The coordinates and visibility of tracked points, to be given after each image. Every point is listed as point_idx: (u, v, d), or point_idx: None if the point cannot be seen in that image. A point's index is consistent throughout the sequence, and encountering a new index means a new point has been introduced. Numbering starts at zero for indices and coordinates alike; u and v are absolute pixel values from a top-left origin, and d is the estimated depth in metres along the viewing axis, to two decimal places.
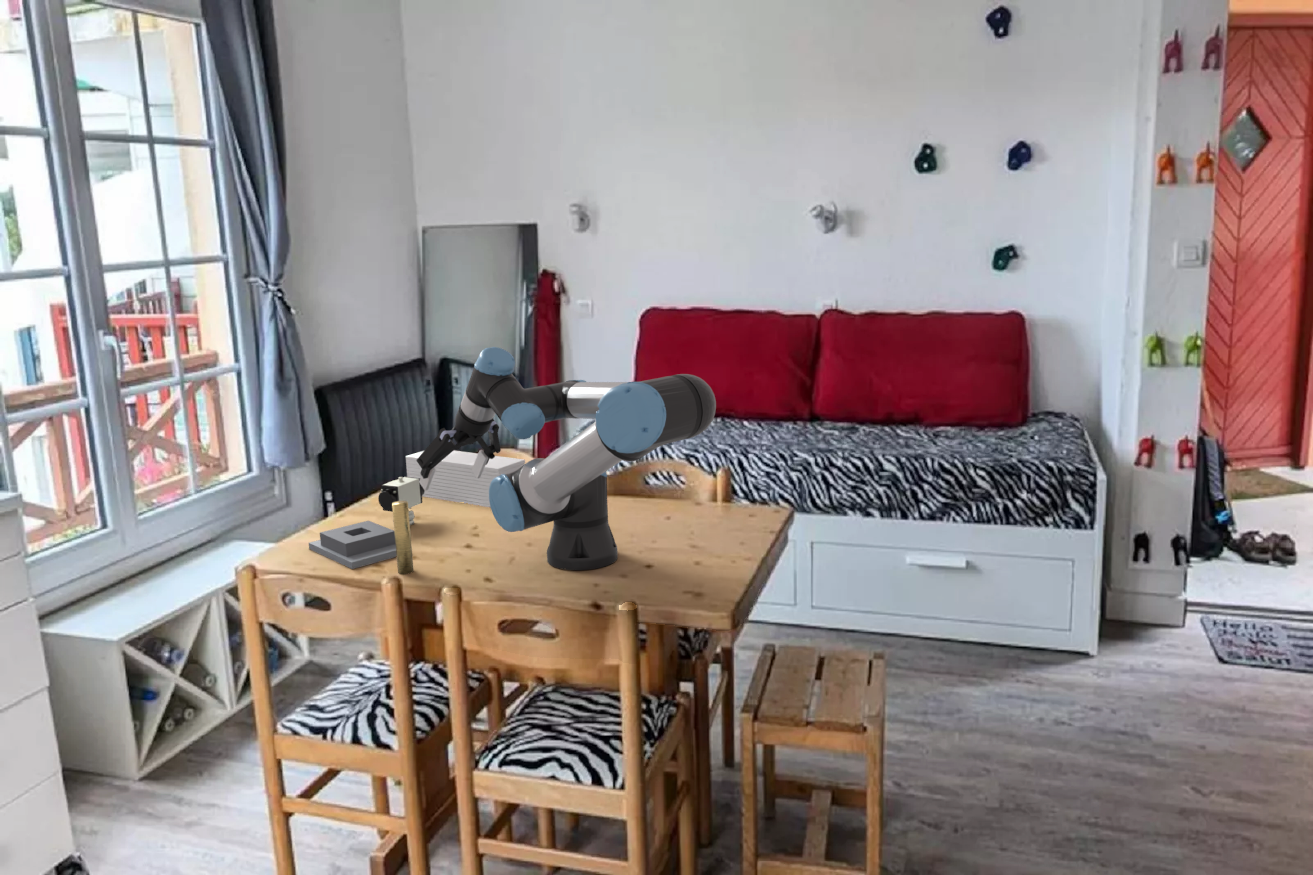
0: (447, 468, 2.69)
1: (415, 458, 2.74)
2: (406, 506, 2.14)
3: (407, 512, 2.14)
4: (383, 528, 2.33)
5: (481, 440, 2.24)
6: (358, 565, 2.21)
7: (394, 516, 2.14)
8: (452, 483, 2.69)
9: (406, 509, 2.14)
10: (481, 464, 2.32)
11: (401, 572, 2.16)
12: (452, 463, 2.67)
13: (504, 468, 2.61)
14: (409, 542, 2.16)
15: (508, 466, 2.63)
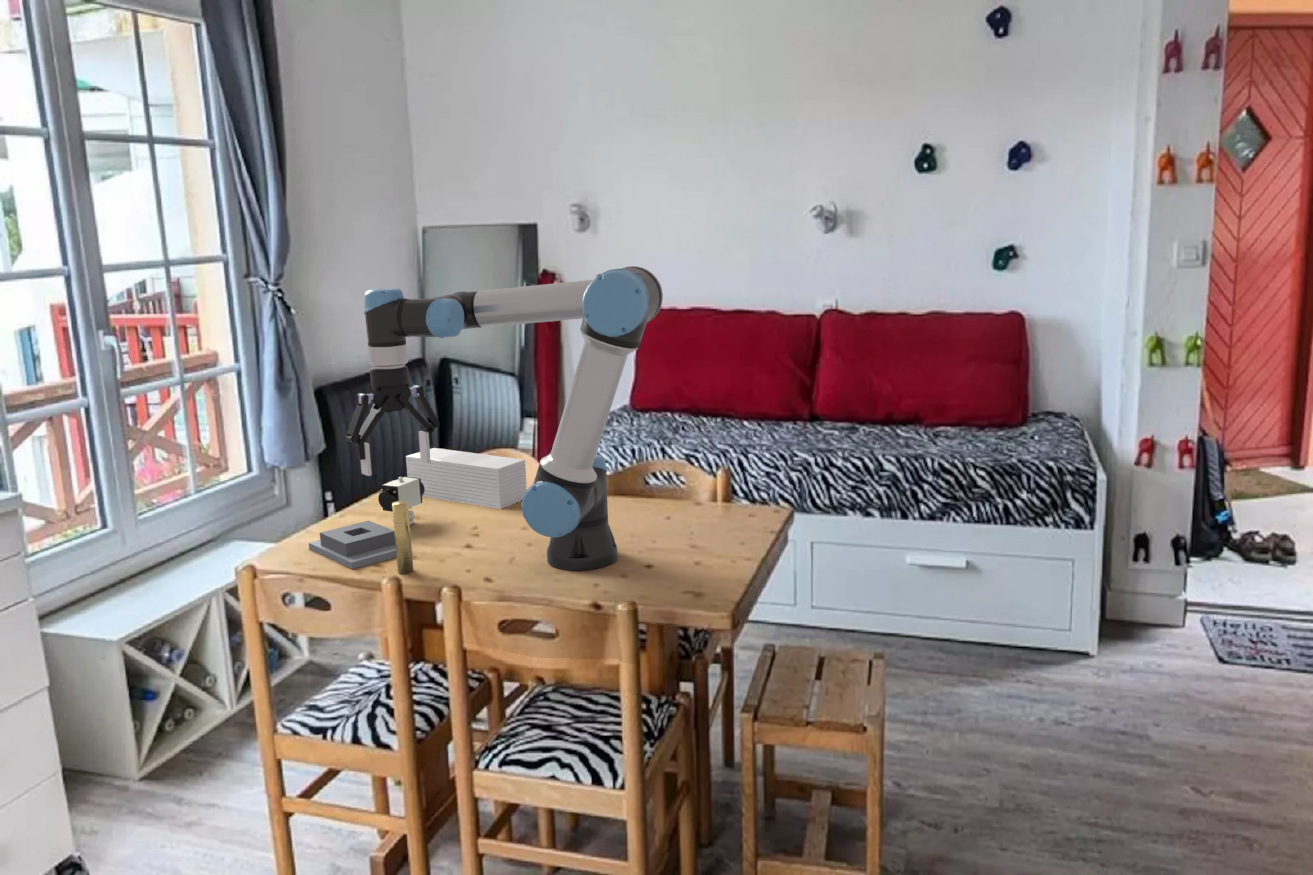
0: (447, 468, 2.69)
1: (415, 458, 2.74)
2: (406, 506, 2.14)
3: (407, 512, 2.14)
4: (383, 528, 2.33)
5: (408, 403, 2.11)
6: (358, 565, 2.21)
7: (394, 516, 2.14)
8: (452, 483, 2.69)
9: (406, 509, 2.14)
10: (424, 444, 2.16)
11: (401, 572, 2.16)
12: (452, 463, 2.67)
13: (504, 468, 2.61)
14: (409, 542, 2.16)
15: (508, 466, 2.63)
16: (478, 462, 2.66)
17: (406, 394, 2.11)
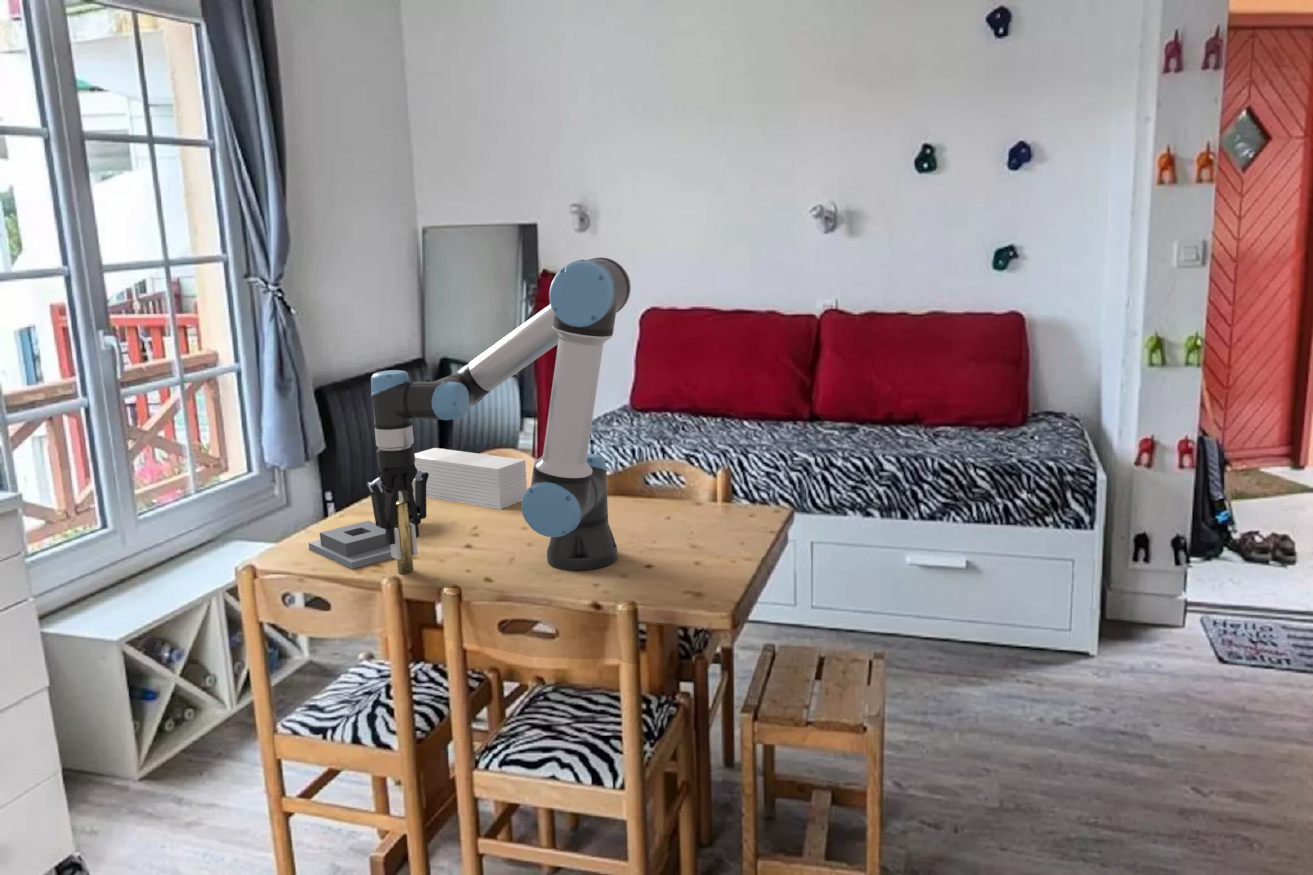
0: (447, 468, 2.69)
1: (416, 458, 2.74)
2: (406, 506, 2.14)
3: (407, 512, 2.14)
4: None
5: (410, 485, 2.14)
6: (358, 565, 2.21)
7: None
8: (452, 483, 2.69)
9: (406, 509, 2.14)
10: (411, 536, 2.16)
11: (401, 572, 2.16)
12: (452, 463, 2.67)
13: (504, 468, 2.61)
14: (409, 542, 2.16)
15: (508, 466, 2.62)
16: (478, 462, 2.66)
17: (412, 472, 2.14)
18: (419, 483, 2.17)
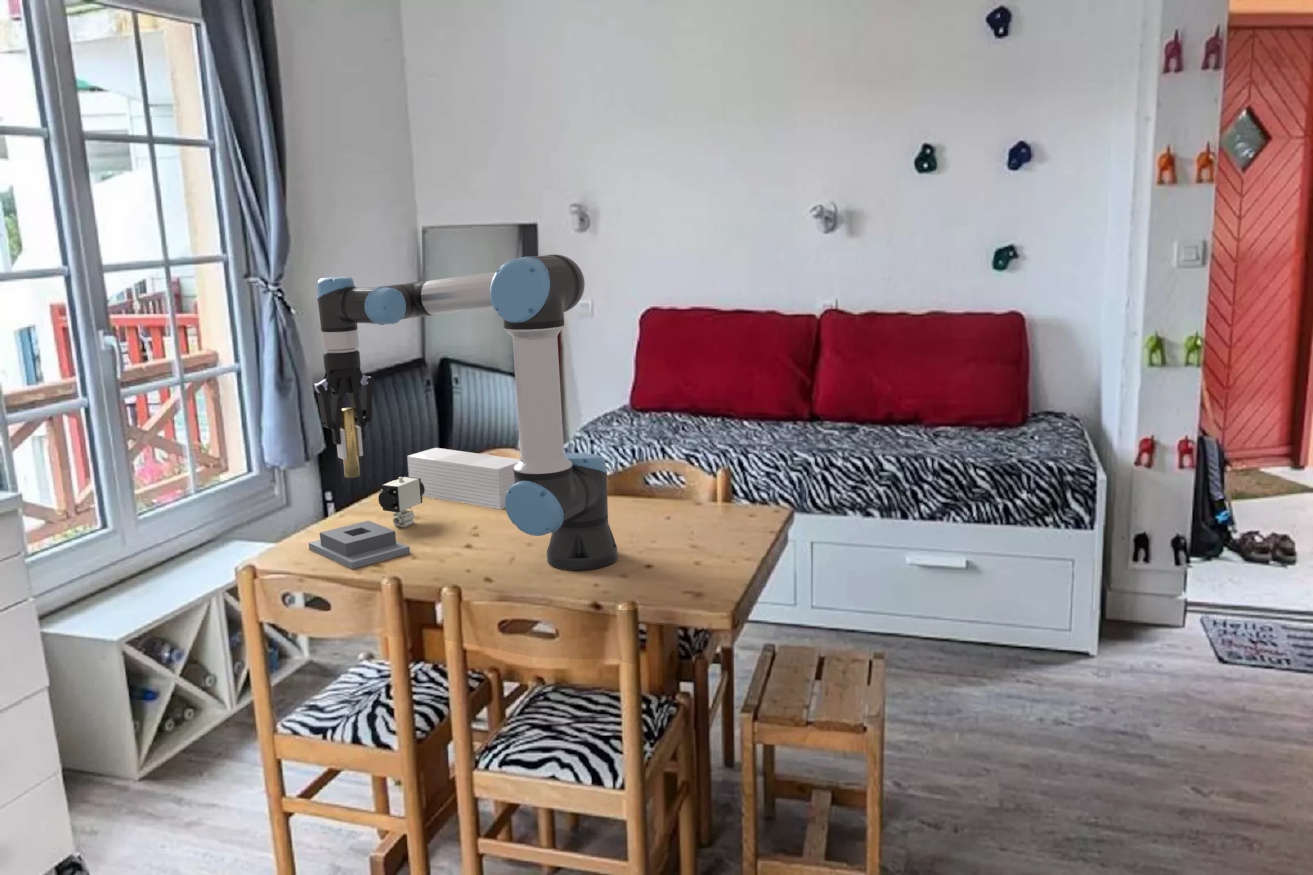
0: (448, 468, 2.68)
1: (416, 458, 2.74)
2: (352, 412, 2.24)
3: (353, 418, 2.24)
4: (383, 528, 2.33)
5: (356, 388, 2.23)
6: (358, 565, 2.21)
7: None
8: (453, 483, 2.69)
9: (352, 415, 2.24)
10: (357, 437, 2.26)
11: (347, 476, 2.26)
12: (453, 463, 2.67)
13: (504, 468, 2.61)
14: (355, 447, 2.26)
15: (508, 466, 2.62)
16: (478, 462, 2.66)
17: (357, 376, 2.24)
18: (365, 387, 2.26)
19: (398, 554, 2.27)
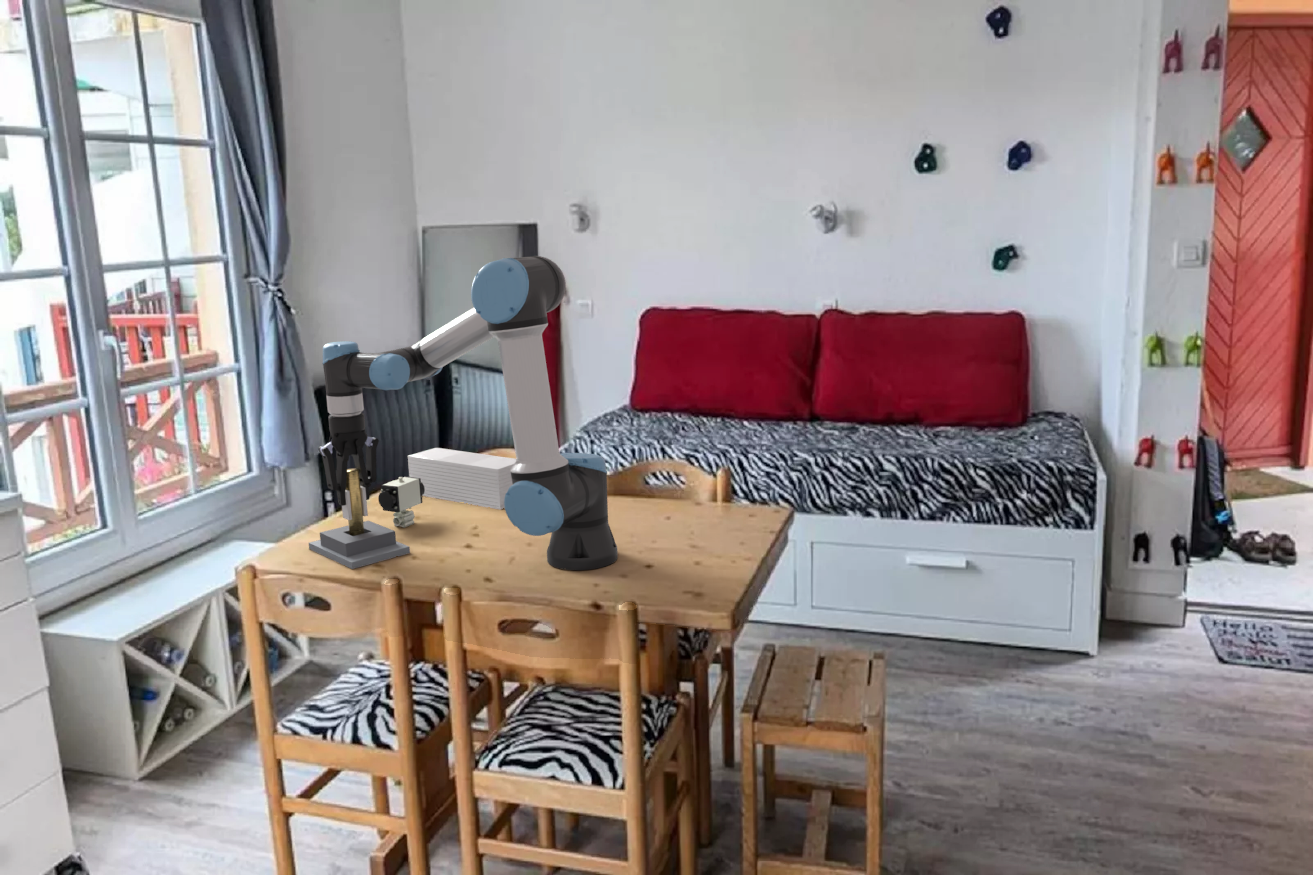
0: (448, 468, 2.68)
1: (417, 458, 2.74)
2: (357, 473, 2.27)
3: (358, 479, 2.28)
4: (383, 528, 2.33)
5: (360, 450, 2.27)
6: (358, 565, 2.21)
7: None
8: (453, 483, 2.69)
9: (357, 476, 2.27)
10: (362, 498, 2.30)
11: None
12: (453, 463, 2.67)
13: (504, 468, 2.61)
14: (360, 507, 2.29)
15: (508, 466, 2.62)
16: (479, 462, 2.66)
17: (362, 438, 2.27)
18: (369, 448, 2.30)
19: (398, 554, 2.27)
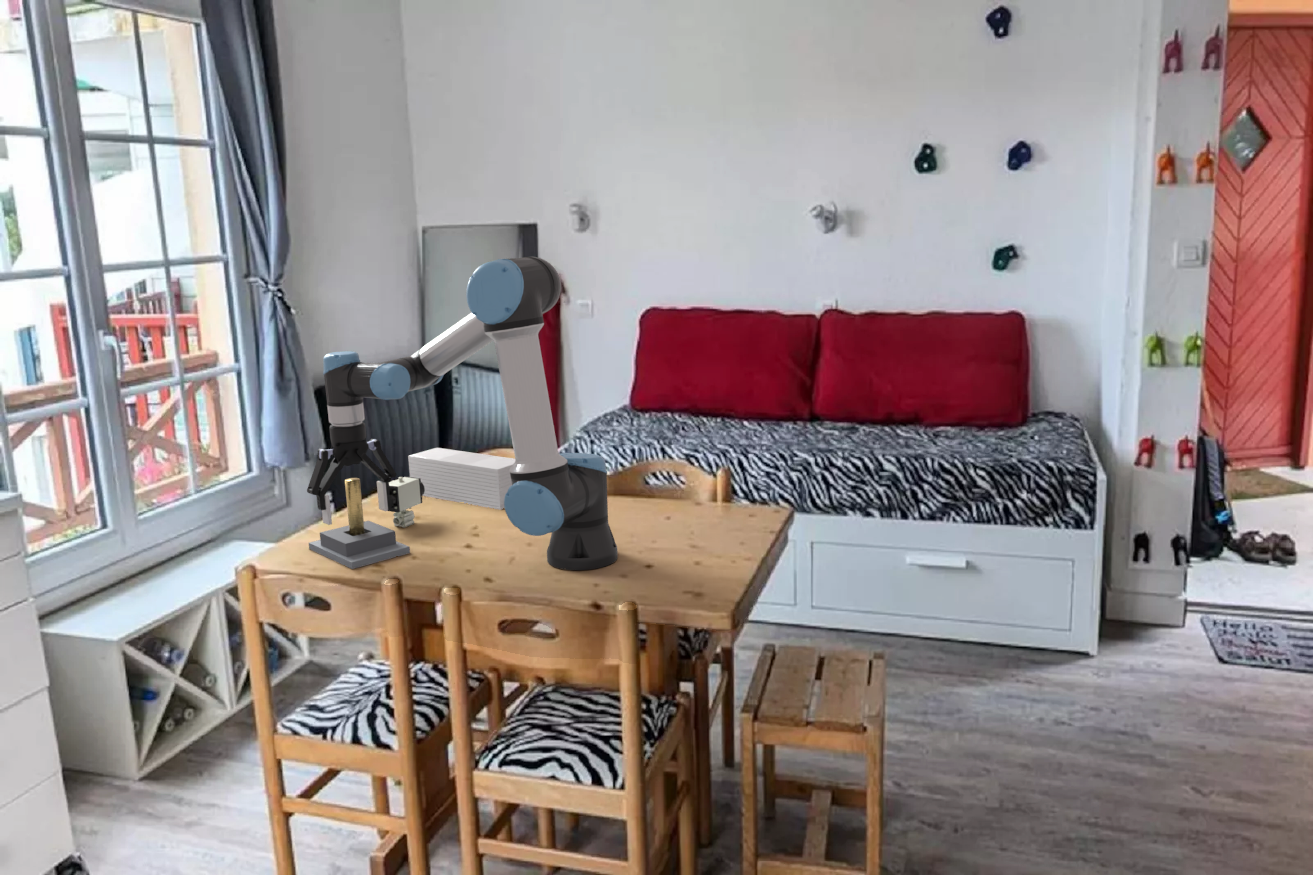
0: (448, 468, 2.68)
1: (417, 458, 2.74)
2: (358, 483, 2.28)
3: (359, 488, 2.28)
4: (383, 528, 2.33)
5: (365, 456, 2.28)
6: (358, 565, 2.21)
7: (346, 492, 2.28)
8: (453, 483, 2.69)
9: (358, 485, 2.28)
10: (382, 493, 2.33)
11: None
12: (453, 463, 2.67)
13: (504, 469, 2.61)
14: (361, 517, 2.30)
15: (508, 467, 2.62)
16: (479, 462, 2.66)
17: (364, 448, 2.28)
18: (375, 451, 2.31)
19: (398, 554, 2.27)
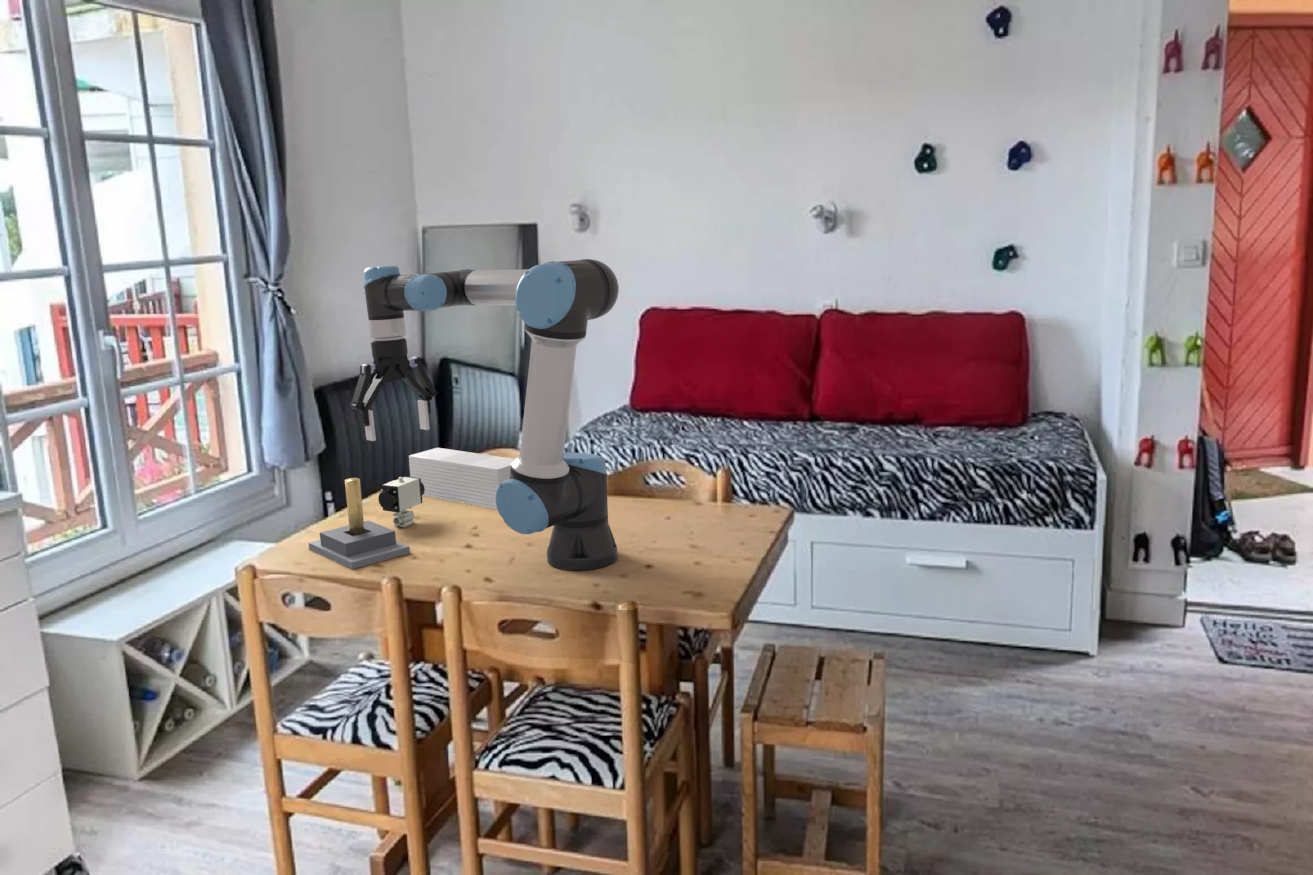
0: (448, 468, 2.68)
1: (418, 458, 2.74)
2: (358, 483, 2.28)
3: (359, 488, 2.28)
4: (383, 528, 2.33)
5: (407, 373, 2.26)
6: (358, 565, 2.21)
7: (347, 492, 2.28)
8: (453, 483, 2.69)
9: (358, 485, 2.28)
10: (423, 411, 2.31)
11: None
12: (453, 463, 2.67)
13: (504, 469, 2.61)
14: (361, 517, 2.29)
15: (508, 467, 2.62)
16: (479, 462, 2.66)
17: (405, 364, 2.26)
18: (416, 369, 2.29)
19: (398, 554, 2.27)
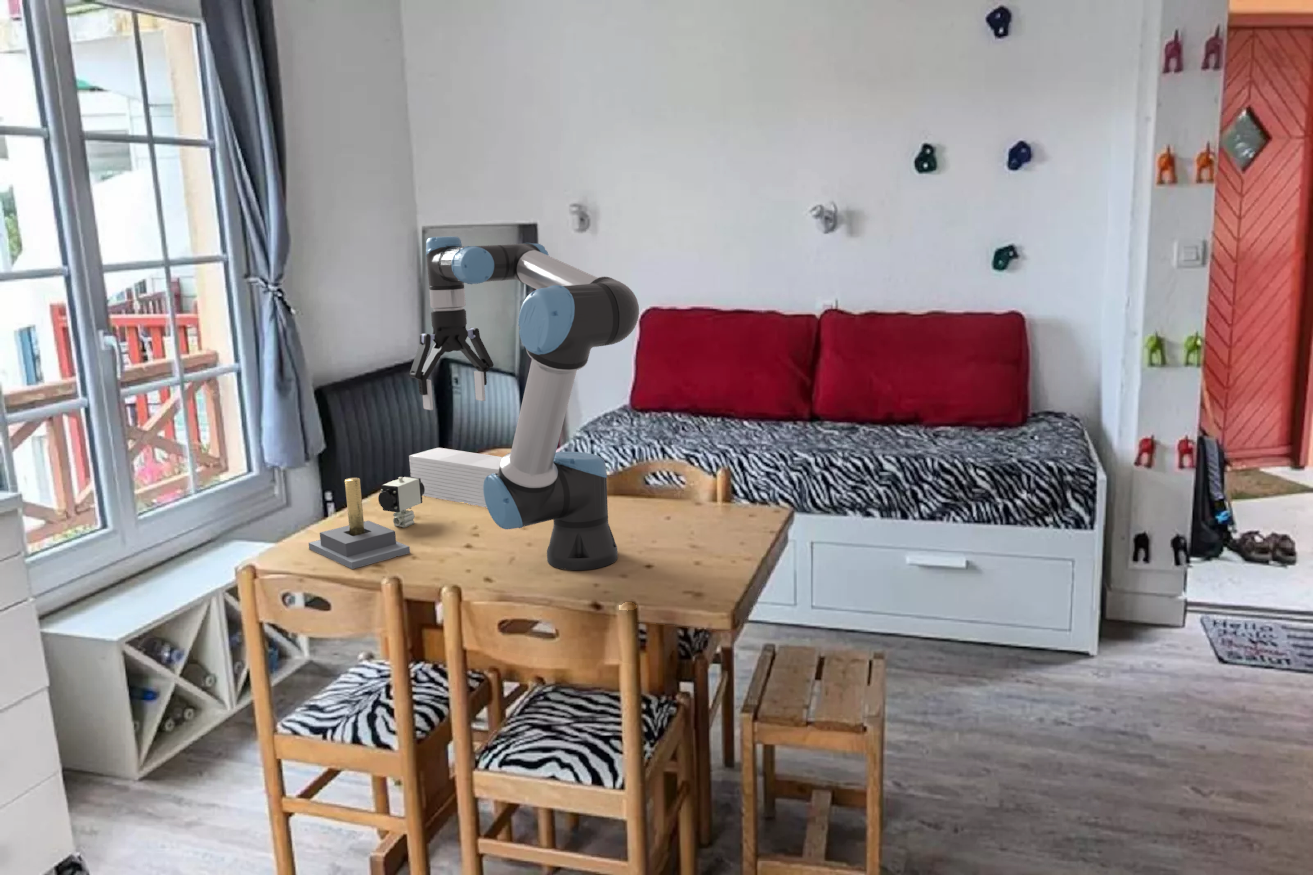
0: (448, 468, 2.68)
1: (418, 458, 2.74)
2: (358, 482, 2.28)
3: (359, 488, 2.28)
4: (383, 528, 2.33)
5: (465, 343, 2.28)
6: (358, 565, 2.21)
7: (347, 492, 2.28)
8: (453, 483, 2.69)
9: (358, 485, 2.28)
10: (480, 382, 2.33)
11: None
12: (453, 463, 2.67)
13: None
14: (361, 516, 2.30)
15: None
16: (479, 462, 2.66)
17: (464, 335, 2.28)
18: (474, 340, 2.31)
19: (398, 554, 2.27)
